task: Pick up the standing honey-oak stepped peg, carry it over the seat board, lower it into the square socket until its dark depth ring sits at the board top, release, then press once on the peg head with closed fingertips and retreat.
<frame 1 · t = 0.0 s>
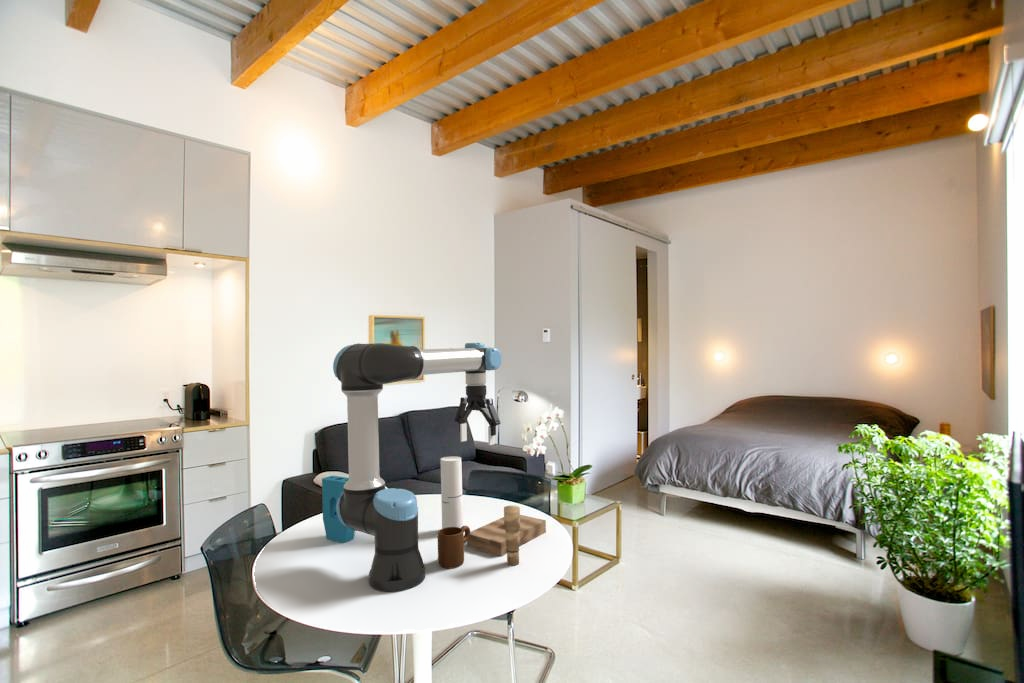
hand: (477, 442, 189), 28 cm above the table, fingers open, 13 cm apart
cylindrical container: (452, 532, 177), on the table
mug: (456, 561, 153), on the table
oak peg: (513, 563, 150), on the table
block: (340, 539, 173), on the table
seat board: (507, 539, 169), on the table
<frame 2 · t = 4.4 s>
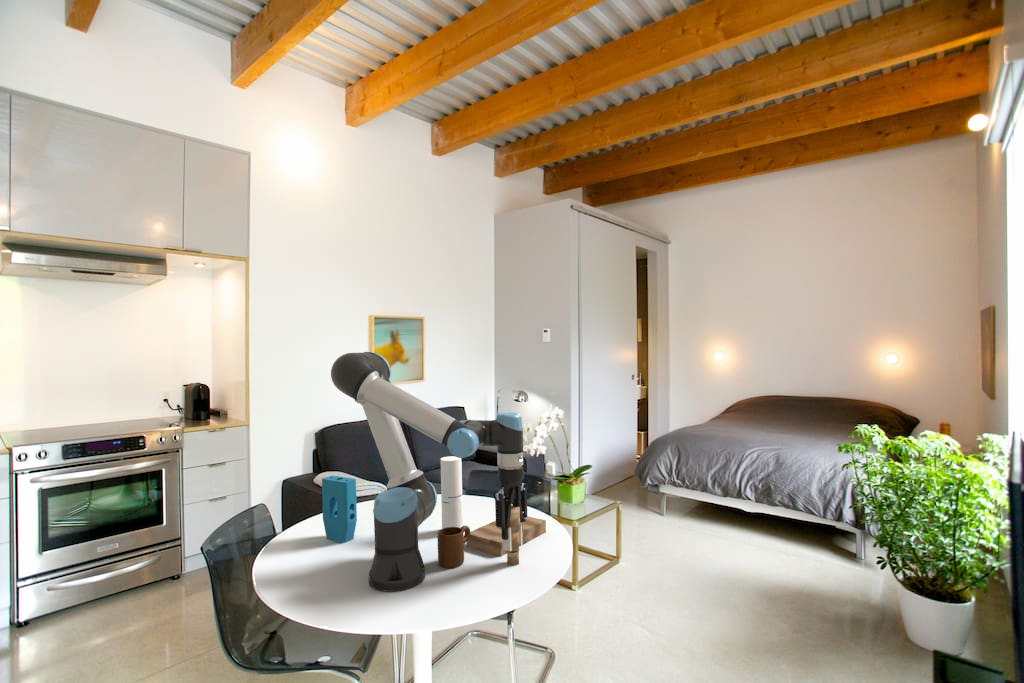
hand: (512, 546, 150), 5 cm above the table, fingers closed on oak peg, 4 cm apart
oak peg: (513, 563, 150), on the table, touching gripper
everything else where it was.
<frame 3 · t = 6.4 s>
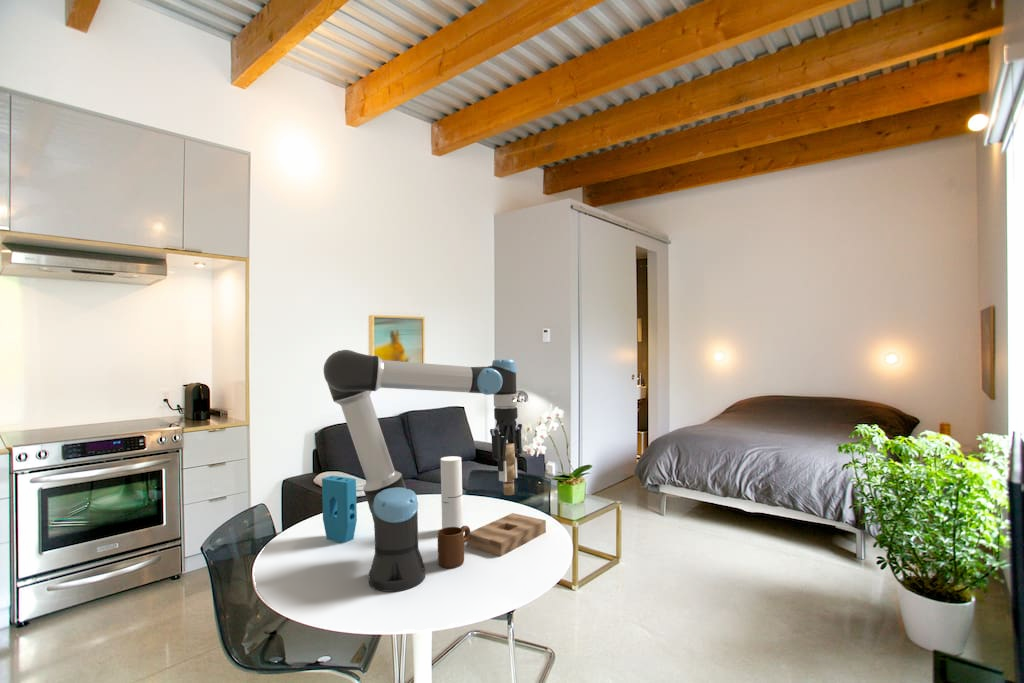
hand: (508, 479, 167), 20 cm above the table, fingers closed on oak peg, 4 cm apart
oak peg: (509, 493, 167), point 15 cm above the table, touching gripper
everything else where it was.
when the fingers open (7 cm above the table, at t = 8.7 s): oak peg drops 2 cm, resting in seat board.
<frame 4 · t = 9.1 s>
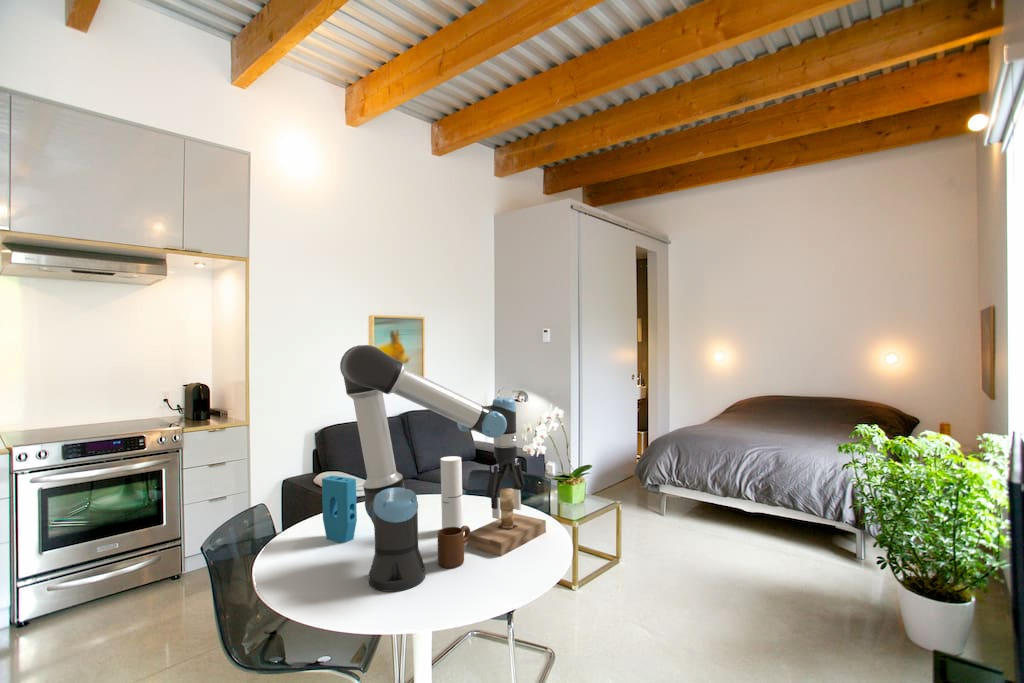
hand: (506, 513, 169), 8 cm above the table, fingers open, 10 cm apart
oak peg: (507, 539, 169), resting in seat board
everything else where it was.
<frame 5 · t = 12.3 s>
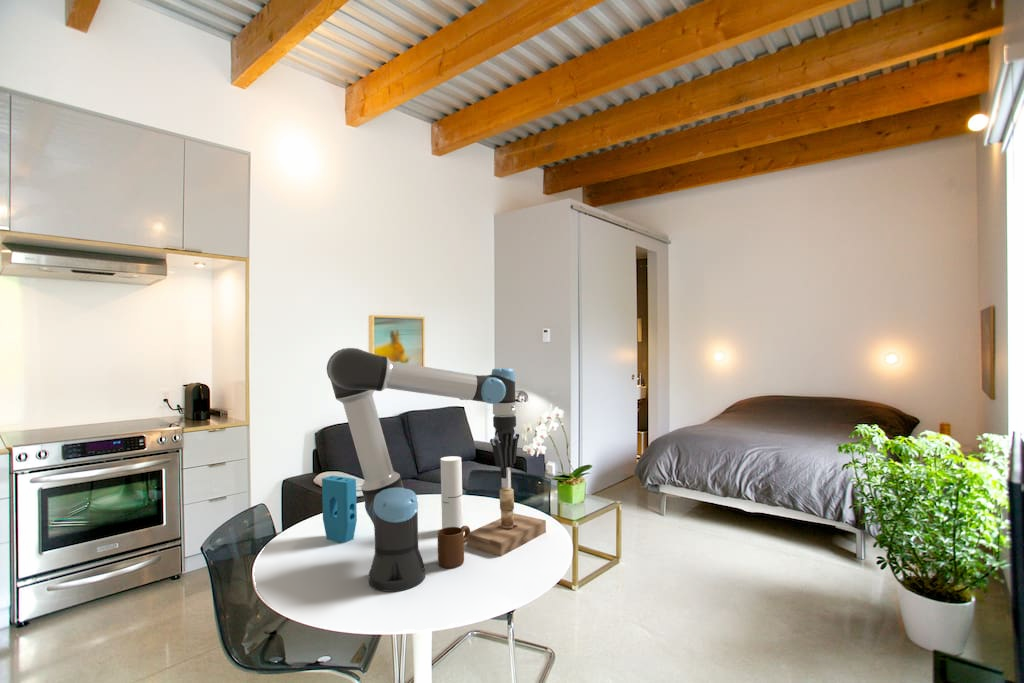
hand: (506, 487, 169), 17 cm above the table, fingers closed
nothing on the table moved.
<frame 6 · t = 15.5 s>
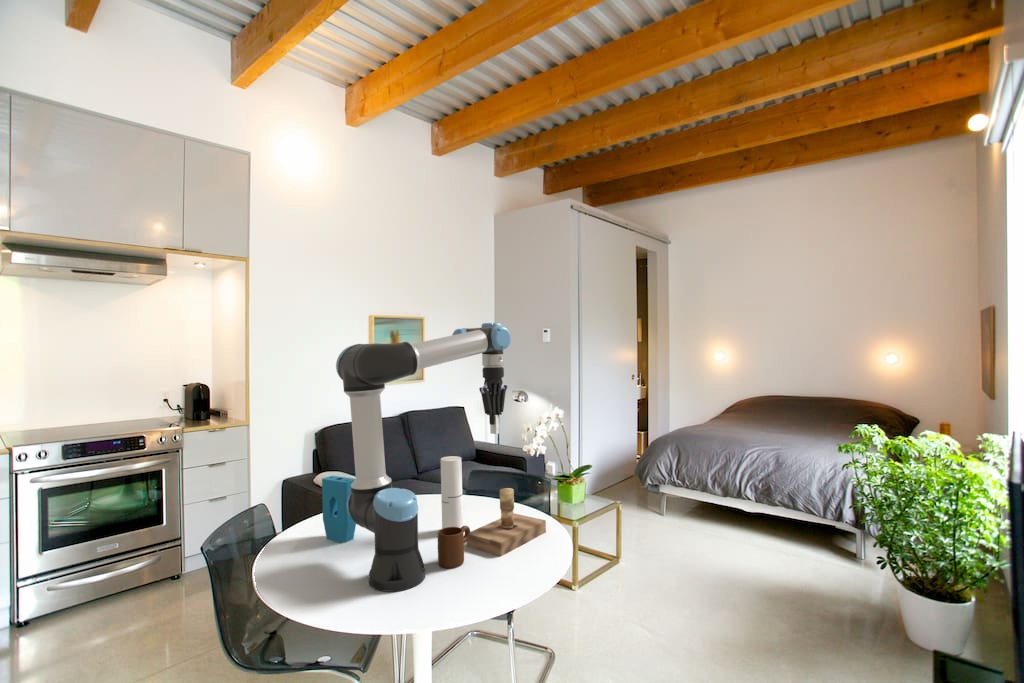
hand: (494, 433, 182), 32 cm above the table, fingers closed
nothing on the table moved.
at the end: oak peg 0.1 cm off-centre on the seat board, point 0.0 cm above the seat board's base; oak peg tilted 0°; the gripper is holding nothing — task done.
